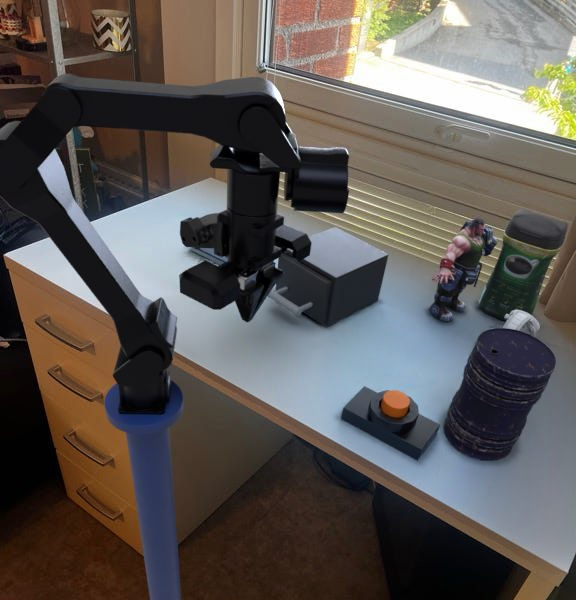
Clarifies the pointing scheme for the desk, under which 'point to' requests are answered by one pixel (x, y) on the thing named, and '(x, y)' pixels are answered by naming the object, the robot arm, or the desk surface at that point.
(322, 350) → the desk surface
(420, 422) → the button panel
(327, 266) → the black drawer cabinet
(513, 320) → the watch
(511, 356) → the navy cylinder
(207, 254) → the smartphone
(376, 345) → the desk surface
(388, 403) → the button
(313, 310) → the open black drawer
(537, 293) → the coffee jar
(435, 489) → the desk surface
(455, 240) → the action figure
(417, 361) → the desk surface
